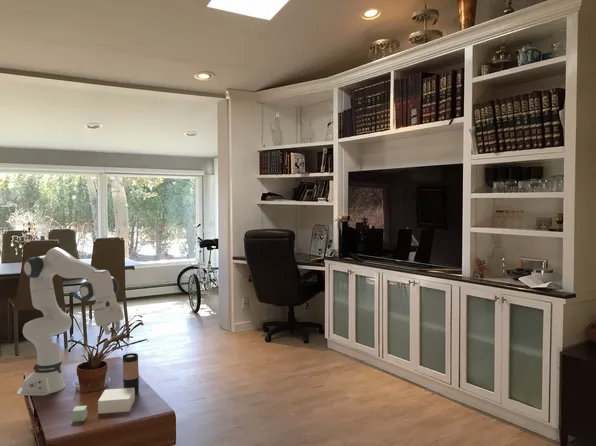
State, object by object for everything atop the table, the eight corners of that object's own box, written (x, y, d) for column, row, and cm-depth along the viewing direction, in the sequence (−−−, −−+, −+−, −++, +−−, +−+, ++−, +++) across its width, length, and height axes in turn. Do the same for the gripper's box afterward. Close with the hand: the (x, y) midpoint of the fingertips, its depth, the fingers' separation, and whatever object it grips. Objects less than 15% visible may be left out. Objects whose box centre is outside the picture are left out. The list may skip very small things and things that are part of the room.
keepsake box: (98, 413, 228) (97, 401, 228) (105, 401, 242) (105, 389, 241) (129, 411, 230) (129, 398, 230) (134, 399, 244) (134, 387, 244)
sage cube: (72, 421, 220) (72, 411, 220) (75, 417, 225) (75, 406, 225) (84, 420, 221) (83, 410, 221) (87, 416, 226) (86, 405, 226)
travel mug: (120, 395, 250) (119, 356, 249) (131, 389, 256) (130, 352, 256) (131, 397, 246) (129, 358, 245) (142, 392, 253) (141, 354, 252)
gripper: (111, 302, 239) (117, 330, 238) (89, 307, 219) (95, 337, 218) (123, 299, 239) (129, 327, 238) (102, 304, 218) (109, 334, 217)
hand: (113, 332), depth 227 cm, fingers open, 8 cm apart
